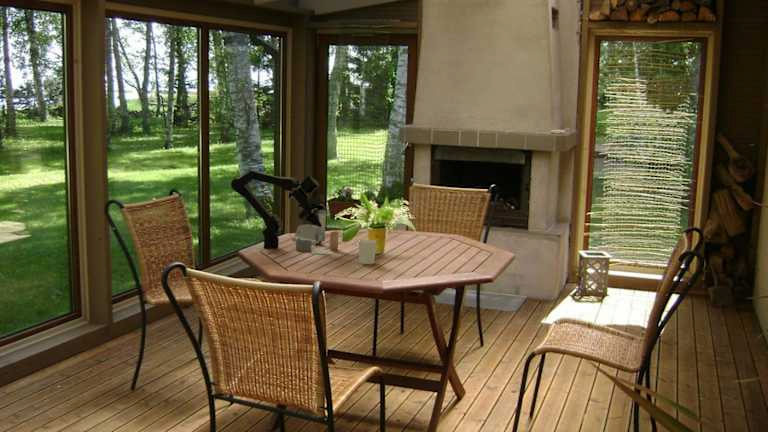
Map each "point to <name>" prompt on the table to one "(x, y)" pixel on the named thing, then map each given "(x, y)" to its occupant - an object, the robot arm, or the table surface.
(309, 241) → the unit
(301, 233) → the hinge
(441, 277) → the table surface
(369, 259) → the white cup
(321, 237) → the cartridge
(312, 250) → the pad
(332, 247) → the terracotta cylinder
